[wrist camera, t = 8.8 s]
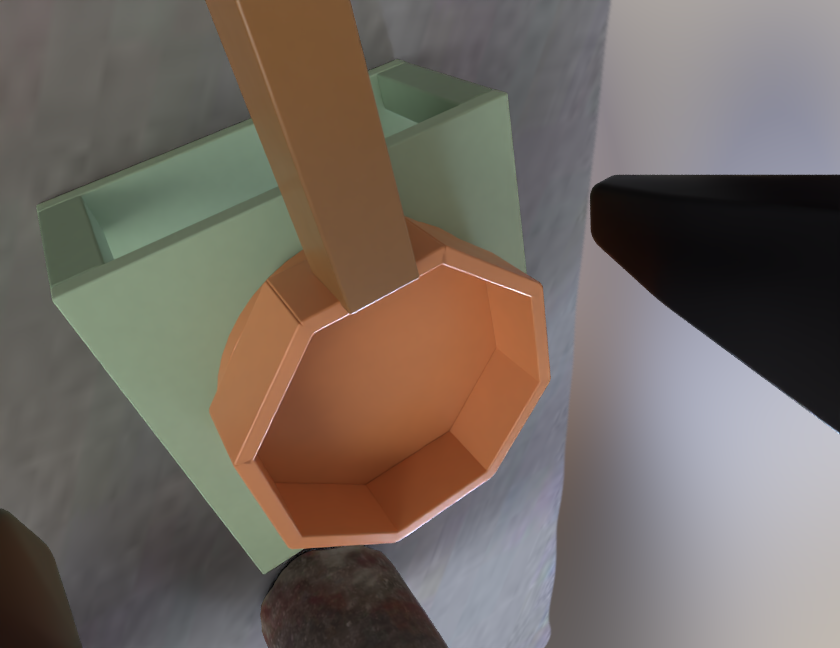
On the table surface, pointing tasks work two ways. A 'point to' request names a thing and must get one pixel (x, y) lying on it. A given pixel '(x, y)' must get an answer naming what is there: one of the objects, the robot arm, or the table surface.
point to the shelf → (250, 257)
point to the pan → (361, 310)
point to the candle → (345, 604)
